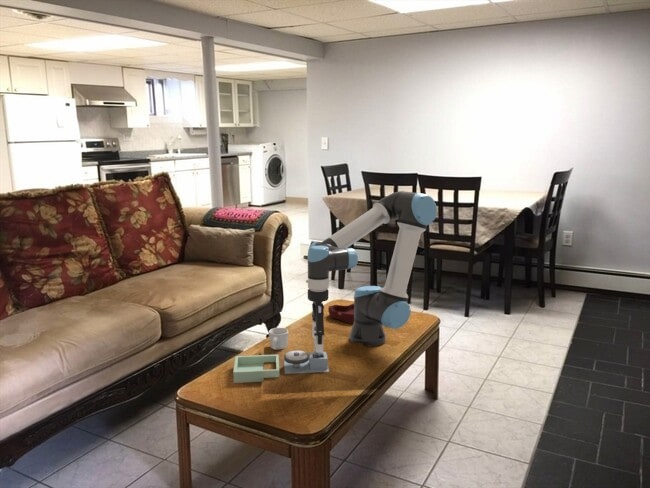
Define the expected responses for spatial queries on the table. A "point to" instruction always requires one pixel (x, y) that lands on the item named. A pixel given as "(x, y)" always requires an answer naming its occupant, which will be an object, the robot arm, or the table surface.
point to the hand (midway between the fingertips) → (317, 344)
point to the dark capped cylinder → (316, 354)
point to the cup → (278, 338)
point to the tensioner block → (304, 362)
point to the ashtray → (342, 312)
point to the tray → (254, 368)
